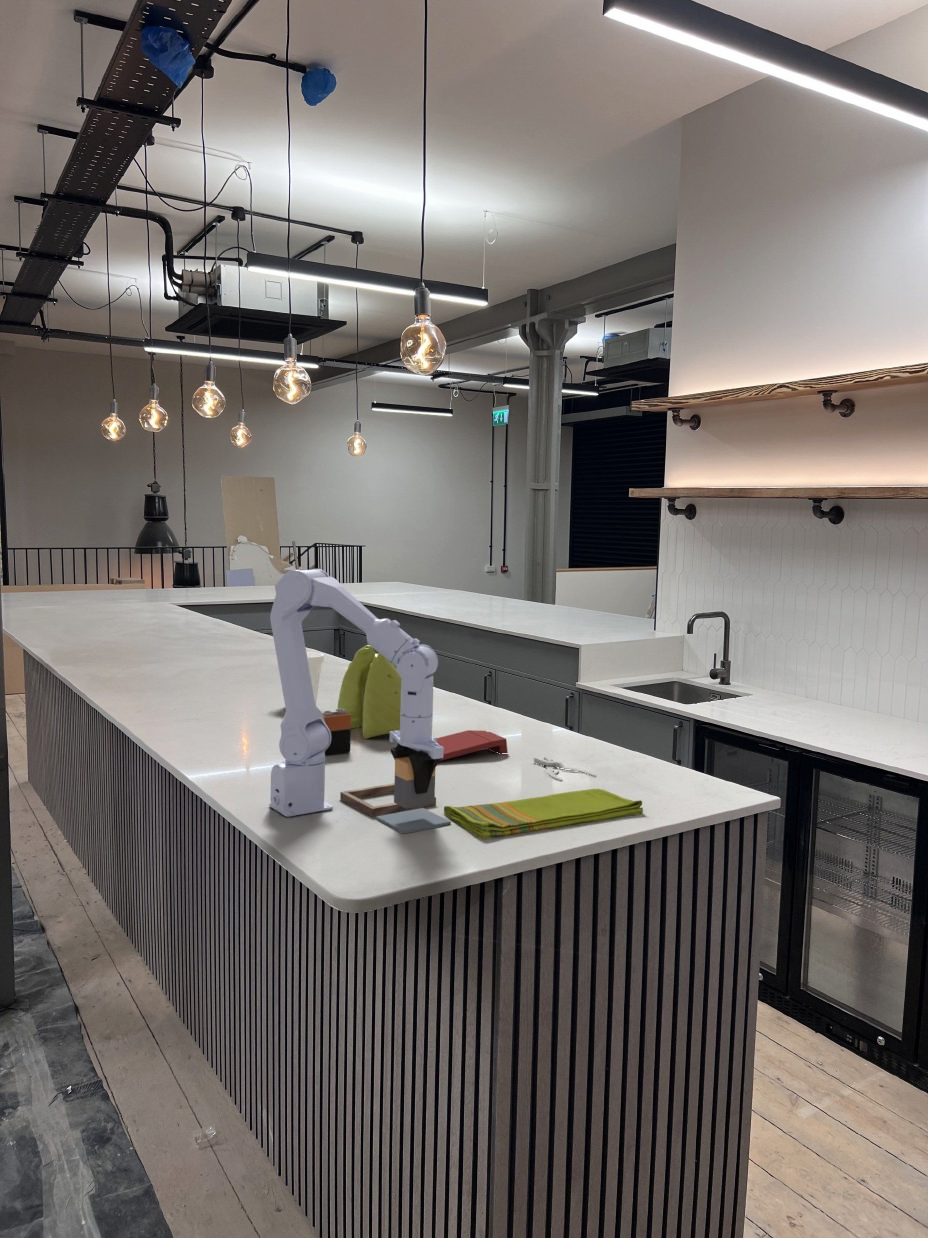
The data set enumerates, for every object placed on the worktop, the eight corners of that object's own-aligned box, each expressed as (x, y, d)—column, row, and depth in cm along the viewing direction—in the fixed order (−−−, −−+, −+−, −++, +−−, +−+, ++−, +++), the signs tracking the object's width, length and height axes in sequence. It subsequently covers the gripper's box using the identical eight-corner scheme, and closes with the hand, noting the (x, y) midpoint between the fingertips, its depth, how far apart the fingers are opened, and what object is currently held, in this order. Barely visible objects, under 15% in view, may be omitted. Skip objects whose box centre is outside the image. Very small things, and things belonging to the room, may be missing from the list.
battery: (351, 752, 206) (352, 710, 205) (324, 756, 202) (325, 713, 201) (342, 748, 210) (342, 707, 209) (316, 752, 206) (316, 709, 205)
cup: (315, 712, 251) (316, 658, 249) (273, 709, 252) (273, 655, 251) (328, 703, 263) (329, 652, 261) (288, 701, 265) (289, 650, 263)
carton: (416, 783, 197) (512, 756, 208) (413, 761, 196) (510, 736, 208) (394, 769, 208) (486, 745, 219) (392, 749, 207) (484, 725, 218)
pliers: (559, 775, 188) (521, 759, 201) (559, 783, 188) (521, 765, 201) (597, 771, 193) (557, 755, 206) (596, 778, 193) (557, 761, 206)
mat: (403, 833, 152) (403, 831, 152) (376, 819, 159) (376, 816, 159) (450, 824, 158) (450, 821, 158) (422, 810, 165) (422, 808, 165)
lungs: (426, 737, 225) (429, 642, 223) (371, 743, 216) (373, 645, 214) (380, 718, 246) (382, 631, 243) (328, 723, 237) (330, 633, 235)
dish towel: (440, 816, 164) (441, 799, 163) (595, 794, 181) (596, 779, 181) (482, 843, 150) (483, 825, 150) (645, 817, 168) (646, 800, 168)
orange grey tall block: (406, 808, 155) (407, 763, 154) (393, 802, 158) (395, 758, 157) (434, 803, 158) (435, 759, 158) (422, 797, 162) (423, 754, 161)
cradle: (372, 817, 160) (372, 808, 160) (340, 799, 170) (340, 792, 170) (435, 805, 169) (436, 797, 169) (402, 789, 178) (402, 782, 178)
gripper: (458, 720, 153) (456, 796, 155) (413, 705, 165) (411, 776, 166) (424, 724, 149) (422, 803, 150) (380, 708, 161) (378, 782, 162)
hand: (414, 789), depth 158 cm, fingers closed on orange grey tall block, 4 cm apart
